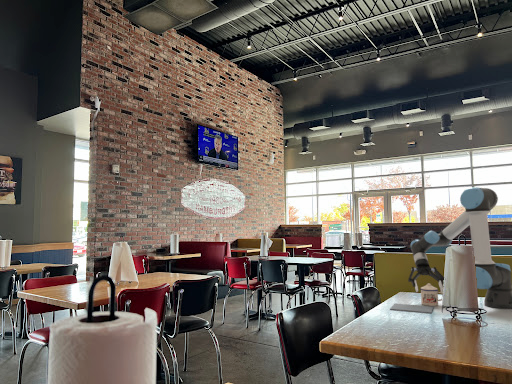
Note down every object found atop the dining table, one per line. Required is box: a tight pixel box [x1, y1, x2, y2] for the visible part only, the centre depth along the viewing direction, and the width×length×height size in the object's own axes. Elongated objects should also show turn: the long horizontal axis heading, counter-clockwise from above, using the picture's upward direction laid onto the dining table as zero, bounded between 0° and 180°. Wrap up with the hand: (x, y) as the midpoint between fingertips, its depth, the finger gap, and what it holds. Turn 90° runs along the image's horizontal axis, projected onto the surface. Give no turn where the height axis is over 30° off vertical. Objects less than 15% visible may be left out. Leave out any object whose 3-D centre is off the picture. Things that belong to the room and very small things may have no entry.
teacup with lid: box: [420, 283, 444, 307], centre depth 216 cm, size 12×9×12 cm
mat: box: [389, 302, 435, 314], centre depth 206 cm, size 20×16×1 cm
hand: (429, 291), depth 218 cm, fingers open, 13 cm apart
